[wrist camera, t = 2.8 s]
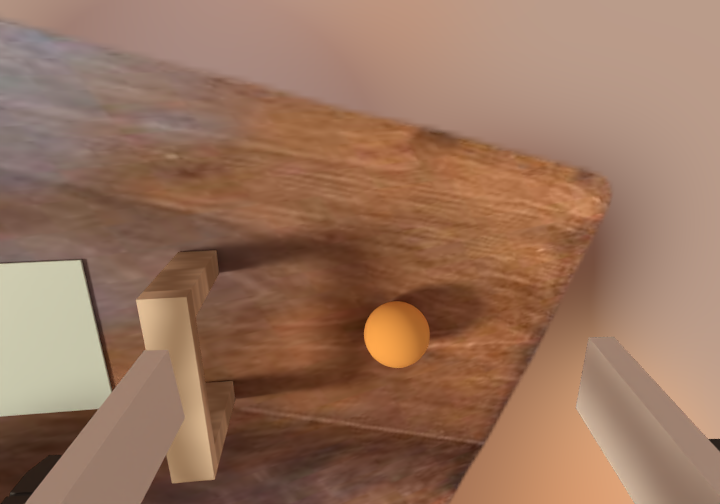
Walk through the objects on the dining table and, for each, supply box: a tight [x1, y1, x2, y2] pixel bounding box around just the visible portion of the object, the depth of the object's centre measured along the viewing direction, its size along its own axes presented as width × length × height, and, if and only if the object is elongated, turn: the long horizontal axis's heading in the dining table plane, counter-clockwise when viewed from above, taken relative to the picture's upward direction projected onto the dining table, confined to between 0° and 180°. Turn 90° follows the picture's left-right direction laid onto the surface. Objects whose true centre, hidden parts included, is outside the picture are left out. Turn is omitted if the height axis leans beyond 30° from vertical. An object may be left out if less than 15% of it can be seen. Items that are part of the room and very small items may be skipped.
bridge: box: [136, 250, 235, 483], centre depth 34 cm, size 3×14×9 cm, turn 1°
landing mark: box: [0, 259, 112, 416], centre depth 37 cm, size 14×14×1 cm
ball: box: [364, 301, 430, 368], centre depth 37 cm, size 6×6×6 cm
